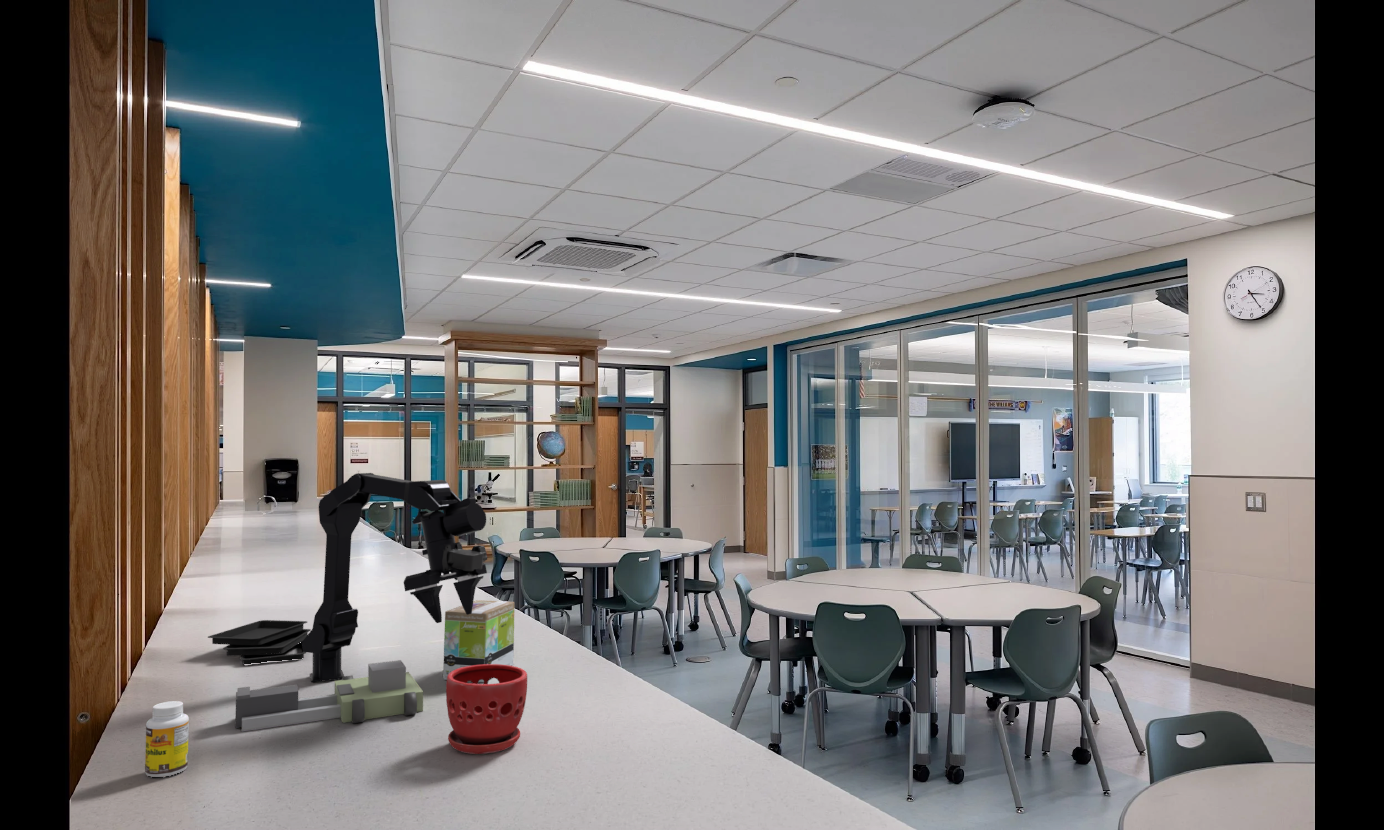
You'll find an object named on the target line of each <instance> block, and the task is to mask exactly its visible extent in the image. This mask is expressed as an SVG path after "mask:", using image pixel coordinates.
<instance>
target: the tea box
mask: <svg viewBox="0 0 1384 830" xmlns="http://www.w3.org/2000/svg"><path fill="white" fill-rule="evenodd" d="M443 639H444V640H443V668H442V669H443V670H442V672H443V673H442V675H443V676H442V679H443V680H444V681H447V676H448V674H449V673H450V672H452V671H454V670H456V669H458V668H462V667H466V666H473V665H482V664H501V665H510V666H514V660H515V659H514V656H515V655H514V649H515V648H514V646H515V601H505V600H504V601H502V600H481V599H479V600H478V599H477V600H476V599H475V600H474V601H473V608H472V613H471V614H468V615H467V614H466V612H465V610H464V608H463V606H462V605H460V606H459V605H458V606H457V607H453V608H450V609H449V610H446V611H445V612H444V638H443ZM467 683H471V681H468V682H467ZM478 683H484V681H483V680H479V681H478Z"/></svg>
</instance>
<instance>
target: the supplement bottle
mask: <svg viewBox="0 0 1384 830" xmlns="http://www.w3.org/2000/svg"><path fill="white" fill-rule="evenodd" d="M189 719H190V718H189V715H188V714H186V713H184V703H183V701H179V700H174V701H173V700H172V701H171V700H170V701H163V702H160V703H157V704H155V705H153V706H152V717H150V719H148V721H147V722H146V723H145V724H146V725H145V753H144V754H145V755H144V757H145V758H144V760H145V762H144V772H145V776H147V777H148V776H151V777H150V778H152V777H163V778H165V777H164V776H169V777H172V776H171V775H173V774H176V775H178V774H177V773H179V774H181V773H183V772H184V771H185V770H186V769H187V768H188V765H189V764H188V763H189V726H190V723H189V722H190V720H189ZM182 771H183V772H182ZM180 772H181V773H180ZM173 776H174V775H173Z"/></svg>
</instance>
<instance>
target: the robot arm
mask: <svg viewBox="0 0 1384 830" xmlns="http://www.w3.org/2000/svg"><path fill="white" fill-rule="evenodd" d="M372 495H376V496H381V497H386V498H393V499H399V500H402V501H404V502H405V503H406V505H408V506H411V507H413V508H415V509H417V510H420V511H418V512H417V515H416V516H415V517H414V518H413V520H412V524H413V525H418V524H421V527H422V531H423V538H424V544H425V548H426V549H422V550H421V553H422V556H426V555H427V559H428V564H429V569H427V570H425V571H423V572H417V573H415V574H410V575H406V576H405V578H404V579H403V586H404V592H408V591H409V592H410V591H411V592H410V593H409V594H410V595H411V596H413V597H415V598H416V599H417V601H419V603H420V604H421V605H422V606H423V607H424V609H425V610H426V611H427V612H428V614H429V616H431V618H432V620H433V621H434V622H435V623H436V624H439V623H440V624H441V623H442V619H443V617H442V609H441V608H442V607H441V599H440V592H441V591H442V587H443V584H440V582H442V581H447V580H452V579H454V580H455V581H456V582H453V586H454V589H455V590H456V593H457V596H458V599H459V601H460V603H461V606H463V608H464V610H465V612H466V614H467V615H468V614H471V613H472V608H473V601H475V593H476V589H477V588H476V587H477V585H478V584H479V583H480V581H481V580H483V579H484V575H485V574H487V573H488V570H487V566H486V563H484V562H486V561H487V560H488V555H487V553H488V552H487V550H486V547H485V545H479V544H478V545H474V546H473V547H472V548H471V549H464V548H463V545H462V543H461V542H460V541H459V542H458V541H457V542H456V538H455V537H461V536H464V535H469V534H473V533H476V532H481V531H482V530H483V529H484V528H485V526H486V524H487V513H486V512H485V511H484V509H483V508H482V506H481V504H479V503H478V502H477V500H476V497H466V498H463V499H462V500H461V499H460V498H459V496H458V495H456V494H455V493H454V491H453V490H452V489H451V487H450V486H449V483H448V481H446V480H444V479H439V480H438V479H435V480H434V479H433V480H417V481H416V480H415V481H414V480H407V479H401V478H396V477H390V476H384V475H379V474H374V473H372V472H363V473H361V472H360V473H355V474H353V475H351V476H350V477H349V478H348V479H347V480H346V481H344V482H343V483H341V484H340V485H338V486H336V487H334V488H333V489H331V491H329V493H327V494H325V495H324V496H323V497H322V498H321V499H320V500H319V502H318V515H319V516H318V517H319V524H320V525H321V528H322V529H323V531H324V532H325V535H326V538H325V539H326V540H325V541H326V543H325V559H324V561H325V562H324V579H323V580H324V581H323V583H324V584H323V594H322V595H323V598H322V603H321V605H319V608H318V609H317V611H316V613H315V614H314V617H313V624H312V629H311V631H309V632H308V635H307V636H306V638H305V639H304V640H303V641H302V644H301V646H302V647H301V648H302V652H303V651H304V652H306V653H307V654H308V653H309V654H312V671H311V673H309V679H310V682H311V683H317V682H326V681H337V680H342V677H343V676H345V673H344V672H343V669H342V648H344V647H349V646H351V643H352V639H353V637H354V635H355V633H356V628H359V625H358V624H359V623H358V616H359V609H358V608H353V607H352V604H351V603H350V601H349V593H350V592H349V590H350V588H349V587H350V569H351V549H352V535H353V533H354V531H355V530H356V528H357V526H358V524H359V522H360V521H361V514H362V511H363V510H362V509H363V508H364V507H365V506H367V504H369V502H370V499H371V498H372V497H371V496H372ZM428 511H430V512H428ZM480 575H481V576H480ZM439 584H440V585H439ZM413 590H414V591H413Z"/></svg>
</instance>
